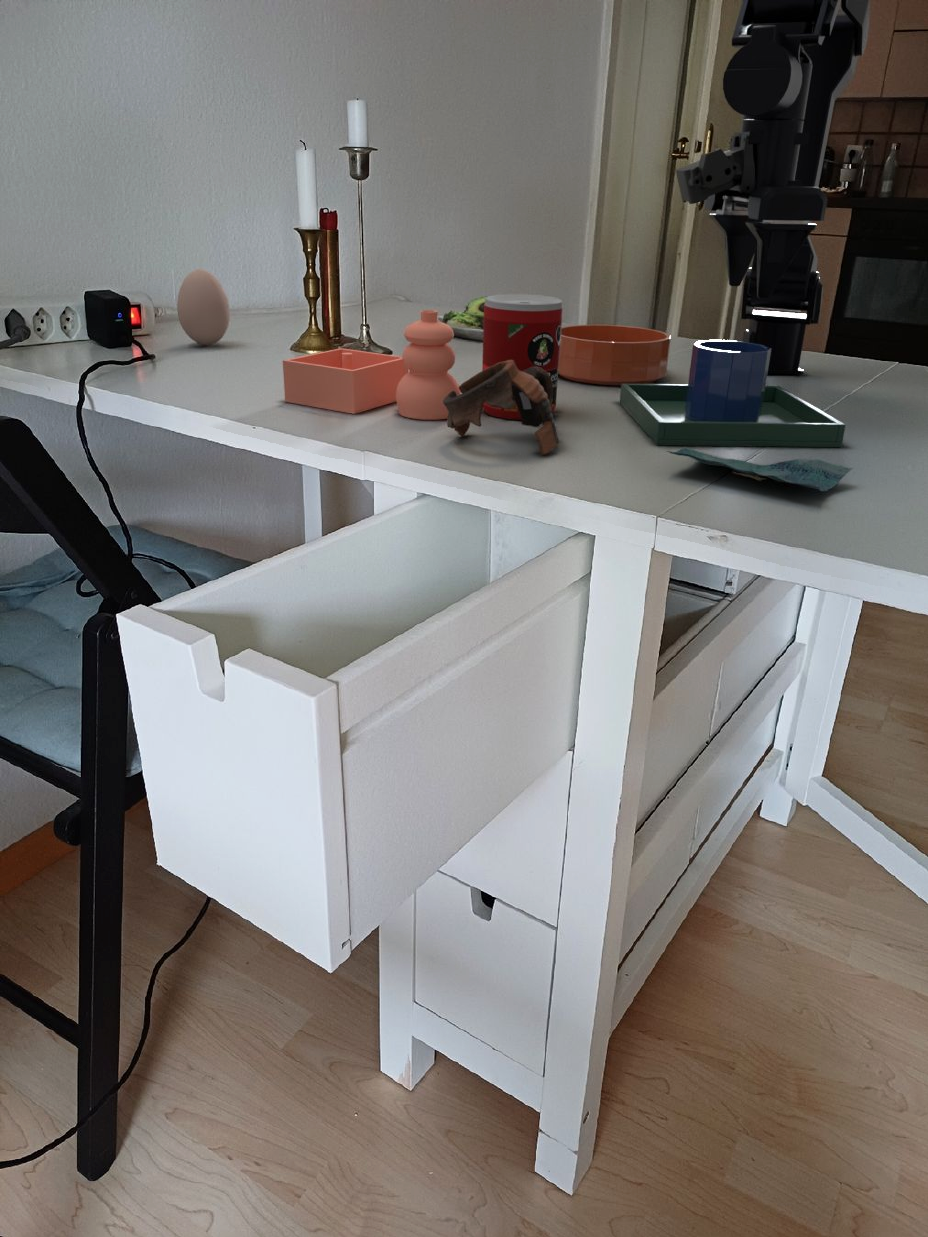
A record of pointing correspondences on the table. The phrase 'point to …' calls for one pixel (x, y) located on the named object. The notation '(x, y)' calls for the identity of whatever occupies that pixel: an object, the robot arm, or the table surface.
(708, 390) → the blue cup
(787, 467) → the terrain model
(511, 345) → the canned food
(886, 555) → the table surface
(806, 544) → the table surface
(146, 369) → the table surface
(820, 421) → the green tray
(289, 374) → the pottery
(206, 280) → the egg
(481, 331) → the salad plate
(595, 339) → the terracotta bowl
